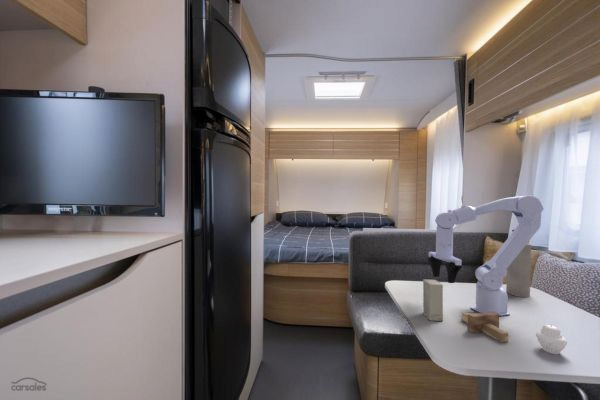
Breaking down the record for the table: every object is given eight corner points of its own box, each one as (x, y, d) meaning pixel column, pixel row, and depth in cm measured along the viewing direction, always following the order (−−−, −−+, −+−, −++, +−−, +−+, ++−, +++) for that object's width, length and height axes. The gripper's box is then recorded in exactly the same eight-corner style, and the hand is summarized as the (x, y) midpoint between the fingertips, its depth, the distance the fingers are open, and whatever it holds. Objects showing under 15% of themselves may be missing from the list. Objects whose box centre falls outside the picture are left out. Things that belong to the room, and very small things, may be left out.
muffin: (529, 344, 75) (530, 319, 75) (551, 345, 74) (552, 320, 74) (549, 357, 68) (550, 330, 68) (573, 358, 68) (574, 331, 68)
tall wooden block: (493, 327, 84) (494, 311, 84) (499, 330, 82) (499, 314, 82) (467, 330, 82) (467, 314, 82) (472, 333, 80) (472, 316, 80)
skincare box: (443, 321, 88) (443, 285, 88) (429, 320, 88) (430, 284, 88) (435, 313, 94) (435, 279, 94) (422, 312, 94) (422, 278, 94)
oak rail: (467, 319, 89) (467, 312, 89) (508, 341, 76) (508, 333, 76) (461, 320, 89) (462, 312, 89) (502, 342, 75) (502, 333, 75)
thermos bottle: (519, 290, 120) (521, 229, 120) (535, 297, 112) (536, 231, 112) (501, 290, 120) (503, 228, 120) (516, 296, 112) (517, 230, 112)
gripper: (422, 241, 107) (421, 274, 107) (450, 247, 93) (449, 286, 93) (437, 240, 109) (436, 273, 109) (466, 247, 95) (465, 285, 95)
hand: (443, 279), depth 101 cm, fingers open, 7 cm apart
